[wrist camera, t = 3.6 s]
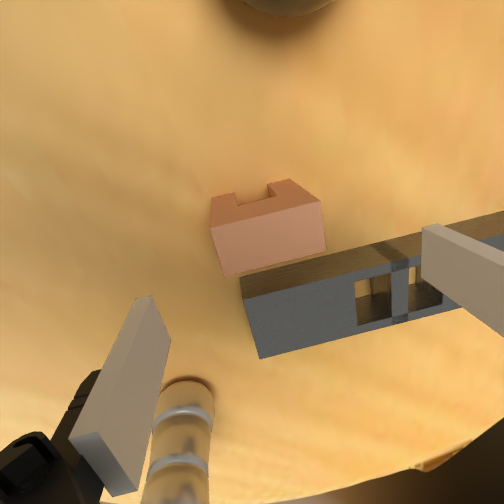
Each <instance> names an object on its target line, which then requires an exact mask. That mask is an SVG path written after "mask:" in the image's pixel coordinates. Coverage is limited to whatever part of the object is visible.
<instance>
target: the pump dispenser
mask: <svg viewBox="0 0 504 504" xmlns="http://www.w3.org/2000/svg"><path fill="white" fill-rule="evenodd" d="M242 1H243V2H244V3H246V4H247V5H249V6H250V7H252V8H254V9H256V10H258V11H260V12H262V13H265V14H268V15H272V16H277V17H298V16H303V15H307V14H310V13H312V12H315V11H317V10H319V9H321V8H322V7H324V6H326V5H327V4H329V3H330V2H331V1H333V0H242Z"/></svg>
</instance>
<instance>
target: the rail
mask: <svg viewBox="0 0 504 504" xmlns="http://www.w3.org/2000/svg"><path fill="white" fill-rule="evenodd" d="M445 227H447V228H449V229H452V230H454V231H456V232H459V233H461V234H463V235H466V236H468V237H470V238H473V239H475V240H477V241H480V242H482V243H484V244H487V245H489V246H491V247H494V248H496V249H498V250H501V251H503V252H504V211H501V212H497V213H493V214H489V215H485V216H482V217H478V218H474V219H470V220H466V221H462V222H458V223H454V224H450V225H446V226H445ZM421 252H422V232H418V233H414V234H410V235H406V236H402V237H398V238H394V239H390V240H386V241H382V242H378V243H374V244H370V245H366V246H362V247H358V248H355V249H351V250H347V251H343V252H339V253H335V254H331V255H327V256H323V257H319V258H315V259H311V260H307V261H303V262H299V263H295V264H291V265H287V266H283V267H279V268H275V269H271V270H267V271H263V272H259V273H255V274H251V275H247V276H243V277H239V278H240V285H241V291H242V297H243V302H244V306H245V309H246V313H247V316H248V320H249V324H250V327H251V331H252V334H253V338H254V341H255V345H256V348H257V352H258V356H259V359H263V358H267V357H271V356H275V355H278V354H282V353H286V352H290V351H294V350H298V349H302V348H306V347H310V346H314V345H317V344H321V343H325V342H329V341H333V340H337V339H341V338H345V337H349V336H353V335H356V334H360V333H364V332H368V331H372V330H376V329H380V328H384V327H388V326H391V325H395V324H399V323H403V322H407V321H411V320H415V319H419V318H423V317H427V316H430V315H434V314H438V313H442V312H446V311H450V310H454V309H458V308H462V307H461V306H460V305H458V304H457V303H456V302H454V301H453V300H452V299H450V298H449V297H447V296H446V295H445V294H443V293H442V292H441V291H439V290H438V289H436V288H435V287H434V286H432V285H431V284H430V283H428V282H427V281H425V280H424V279H423V278H421ZM414 266H416V283H415V284H411V285H408V283H409V268H410V267H414ZM367 278H370V280H371V295H368V296H364V297H360V298H356V299H355V289H354V282H355V281H359V280H363V279H367Z"/></svg>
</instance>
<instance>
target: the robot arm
mask: <svg viewBox="0 0 504 504" xmlns="http://www.w3.org/2000/svg"><path fill="white" fill-rule="evenodd" d="M421 278H423V279H424V280H425V281H427V282H428V283H430V284H431V285H432V286H434V287H435V288H436V289H438V290H439V291H441V292H442V293H443V294H445V295H446V296H447V297H449V298H450V299H452V300H453V301H454V302H456V303H457V304H458V305H460V306H461V307H463V308H464V309H465V310H467V311H468V312H469V313H471V314H472V315H474V316H475V317H476V318H478V319H479V320H480V321H482V322H483V323H485V324H486V325H487V326H489V327H490V328H491V329H493V330H494V331H496V332H497V333H498V334H500V335H501V336H502V337H504V252H503V251H501V250H498V249H496V248H494V247H491V246H489V245H487V244H484V243H482V242H480V241H477V240H475V239H473V238H470V237H468V236H466V235H463V234H461V233H459V232H456V231H454V230H452V229H449V228H447V227H445V226H442V225H440V224H434V225H430V226H426V227H422V252H421ZM170 343H171V339H170V336H169V334H168V332H167V330H166V327H165V325H164V323H163V320H162V318H161V316H160V313H159V311H158V309H157V306H156V304H155V302H154V299H153V297H152V295H150V296H146V297H142V298H138V299H135V301H134V304H133V306H132V308H131V310H130V312H129V314H128V316H127V318H126V320H125V322H124V324H123V326H122V328H121V330H120V332H119V334H118V337H117V339H116V341H115V343H114V345H113V347H112V349H111V351H110V353H109V355H108V357H107V359H106V361H105V363H104V365H103V367H102V369H100V370H96V371H92V372H91V373H90V375H89V376H88V377H87V378H86V379H85V380H84V381H83V382H82V383H81V385H80V386H79V388H78V390H77V392H76V394H75V396H74V400H72V401H71V403H70V405H69V407H68V411H66V412H65V414H64V416H63V418H62V420H61V422H60V424H59V425H58V427H57V429H56V431H55V433H54V435H53V437H52V438H51V440H49V439H48V438H47V436H46V435H45V434H44V433H43V432H35V431H34V432H31V433H28V434H25V435H23V436H21V437H20V438H18V439H16V440H15V441H13V442H12V443H10V444H9V445H8V446H7V447H6V448H4V449H3V450H2V451H1V452H0V504H100V503H99V501H100V497H101V494H102V491H103V488H104V487H105V488H106V489H107V491H108V492H109V493H110V495H111V496H112V497H115V496H119V495H123V494H127V493H131V492H135V491H138V487H139V483H140V478H141V474H142V469H143V465H144V460H145V456H146V451H147V447H148V442H149V438H150V433H151V429H152V424H153V420H154V415H155V411H156V406H157V402H158V397H159V393H160V388H161V384H162V379H163V375H164V370H165V365H166V361H167V356H168V352H169V347H170Z"/></svg>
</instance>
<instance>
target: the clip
mask: <svg viewBox="0 0 504 504" xmlns="http://www.w3.org/2000/svg"><path fill="white" fill-rule="evenodd" d="M268 189H269V194H270V198H267V199H263V200H259V201H255V202H251V203H247V204H243V205H239V206H237V202H236V198H235V194H234V193H230V194H226V195H222V196H218V197H214V198H212V199H211V216H210V231H211V234H212V237H213V241H214V244H215V247H216V251H217V254H218V257H219V260H220V264H221V267H222V270H223V274H224V277H225V276H229V275H233V274H237V273H241V272H245V271H249V270H253V269H257V268H261V267H265V266H269V265H273V264H277V263H281V262H285V261H289V260H293V259H297V258H301V257H305V256H309V255H313V254H317V253H321V252H325V251H326V244H325V235H324V227H323V219H322V211H321V202H320V200H319V199H317V198H316V197H314V196H313V195H312V194H310V193H309V192H308V191H306V190H305V189H303V188H302V187H301V186H299V185H298V184H296V183H295V182H294V181H292V180H291V179H287V180H283V181H279V182H275V183H271V184H268Z"/></svg>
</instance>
